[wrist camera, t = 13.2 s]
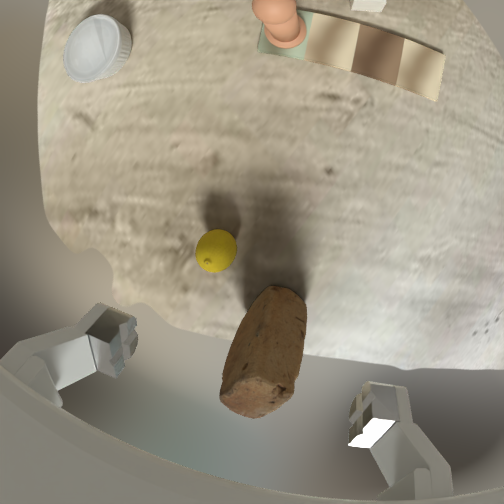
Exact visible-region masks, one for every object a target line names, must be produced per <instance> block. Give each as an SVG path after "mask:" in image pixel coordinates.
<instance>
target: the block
mask: <svg viewBox="0 0 504 504" xmlns="http://www.w3.org/2000/svg"><path fill="white" fill-rule="evenodd" d="M306 323H307V307H306V304H305V303H304V301H303V300H302V299H301V298H300V297H299V296H298V295H297V294H295V293H294V292H293V291H291V290H290V289H288V288H285V287H284V288H281V287H277V286H269V287H267V288H266V289H265V290H264V291H263V292H262V293H261V294H260V295H259V296H258V297H257V298H256V300H255V301H254V302H253V304H252V305H251V307H250V308H249V310H248V312H247V313H246V315H245V316H244V318H243V319H242V321H241V324H240V326H239V328H238V330H237V332H236V335H235V337H234V340H233V342H232V344H231V347H230V350H229V353H228V356H227V359H226V362H225V366H224V370H223V377H222V380H223V382H222V385H221V389H220V401H221V402H222V403H223V404H224V405H225V406H227V407H228V408H229V409H230V410H231V411H233V412H235V413H237V414H240V415H242V416H246V417H249V418H253V419H254V418H260V417H263V416H265V415H267V414H268V413H271V412H273V411H275V410H276V409H278V408H279V407H280V406H281V405H282V404H284V403H285V402H286V401H288V400H289V399H290V398H291V397H292V395H293V394H294V382H295V380H296V378H297V377H298V375H299V370H300V364H301V361H302V356H303V349H304V339H305V335H306Z"/></svg>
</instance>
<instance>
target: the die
mask: <svg viewBox="0 0 504 504" xmlns="http://www.w3.org/2000/svg"><path fill="white" fill-rule="evenodd" d="M385 5H386V0H350V6H351V10H359V11H374V12H381V11H382V9H383V8H384V6H385Z"/></svg>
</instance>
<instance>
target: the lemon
mask: <svg viewBox="0 0 504 504" xmlns="http://www.w3.org/2000/svg"><path fill="white" fill-rule="evenodd" d="M236 253H237V245H236V241H235V239H234V237H233V236H232V235H231V234H230V233H229V232H227V231H225V230H221V229H215V230H211V231H209V232H207V233H206V234H204V235H203V236H202V237H201V239H200V240H199V242H198V244H197V247H196V253H195V255H196V260H197V262H198V264H199V265H200V266H201V267H202V268H203V269H204V270H206V271H209V272H220V271H222V270H224V269H226V268H227V267H228V266H229V265H231V263H232V262H233V260H234V259H235V256H236Z"/></svg>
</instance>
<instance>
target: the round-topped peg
mask: <svg viewBox="0 0 504 504" xmlns="http://www.w3.org/2000/svg"><path fill="white" fill-rule="evenodd" d="M252 9H253V12H254V14H255V16H256V17H257V18H258V19H259V20H261V21H262V22H263V23H264V25H265V26H264V32H265V35H266V37H267V39H268V40H269V41H270V43H272V44H273V45H274V46H276V47H279V48H283V49H290V48H294V47H296V46H298V45H300V44H301V43H302V42H303V41H304V39H305V37H306V33H307V30H306V25H305V23H304V21H303V19H302V18H301V17H299V16H298V15H297V12H296V1H295V0H253V1H252Z"/></svg>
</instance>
